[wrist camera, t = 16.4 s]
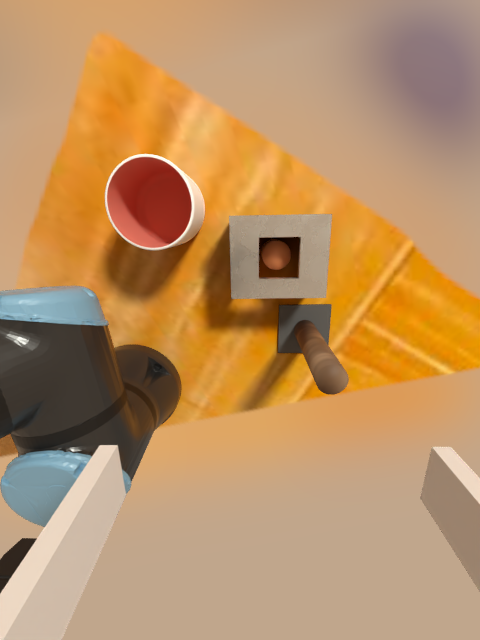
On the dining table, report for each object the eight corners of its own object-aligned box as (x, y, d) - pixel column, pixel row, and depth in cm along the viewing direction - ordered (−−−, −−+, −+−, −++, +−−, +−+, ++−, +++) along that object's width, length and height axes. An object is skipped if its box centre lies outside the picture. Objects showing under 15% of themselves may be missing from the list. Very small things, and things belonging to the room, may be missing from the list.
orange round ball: (260, 265, 44) (262, 270, 40) (260, 239, 43) (262, 241, 39) (286, 265, 44) (290, 269, 40) (286, 239, 43) (291, 240, 39)
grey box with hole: (233, 286, 45) (231, 298, 38) (232, 217, 42) (229, 215, 35) (312, 285, 45) (325, 297, 37) (316, 216, 42) (331, 214, 34)
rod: (293, 340, 47) (315, 394, 32) (294, 319, 46) (317, 366, 31) (314, 339, 47) (346, 394, 32) (316, 319, 46) (349, 366, 31)
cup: (215, 186, 41) (206, 174, 32) (194, 254, 44) (179, 262, 35) (146, 159, 40) (115, 138, 31) (129, 231, 43) (96, 232, 34)
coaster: (277, 351, 49) (278, 352, 48) (279, 304, 46) (279, 305, 46) (326, 351, 48) (327, 352, 48) (330, 304, 46) (331, 305, 45)
